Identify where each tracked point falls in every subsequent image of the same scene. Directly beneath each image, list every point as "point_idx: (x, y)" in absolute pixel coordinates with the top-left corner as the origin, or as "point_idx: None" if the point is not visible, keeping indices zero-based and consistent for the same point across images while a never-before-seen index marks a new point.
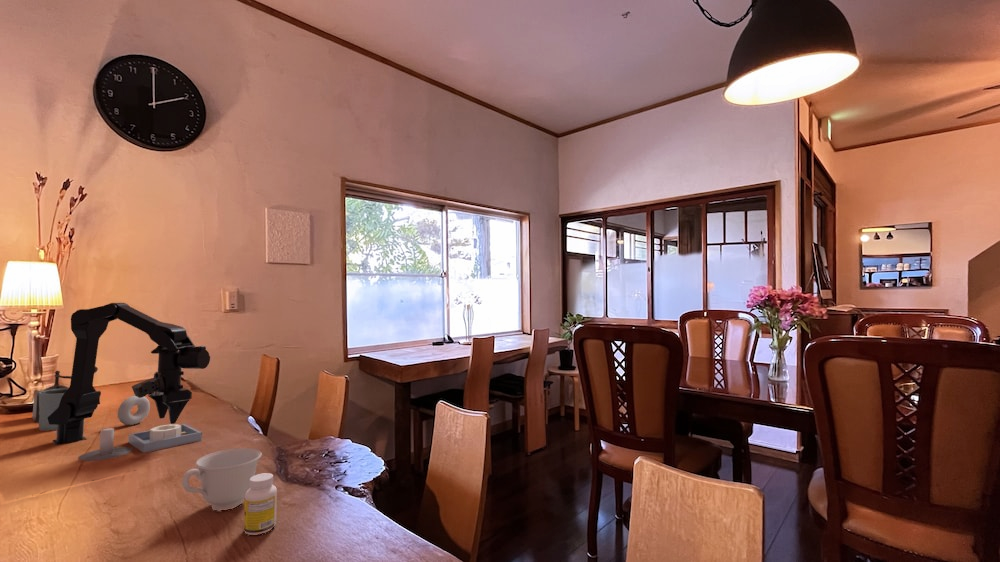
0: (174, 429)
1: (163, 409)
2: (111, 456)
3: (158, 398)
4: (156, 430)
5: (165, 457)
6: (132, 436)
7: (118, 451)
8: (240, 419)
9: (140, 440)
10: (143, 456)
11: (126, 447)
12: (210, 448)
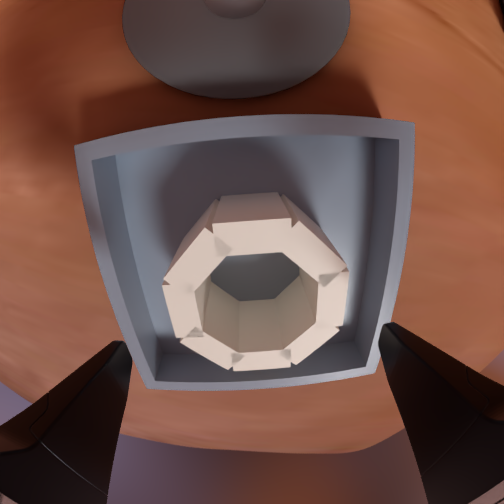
0: (176, 331)
1: (410, 391)
2: (148, 13)
3: (491, 454)
4: (217, 246)
5: (28, 213)
6: (341, 115)
7: (225, 39)
8: (357, 446)
9: (171, 131)
10: (84, 138)
11: (283, 82)
12: (65, 344)
